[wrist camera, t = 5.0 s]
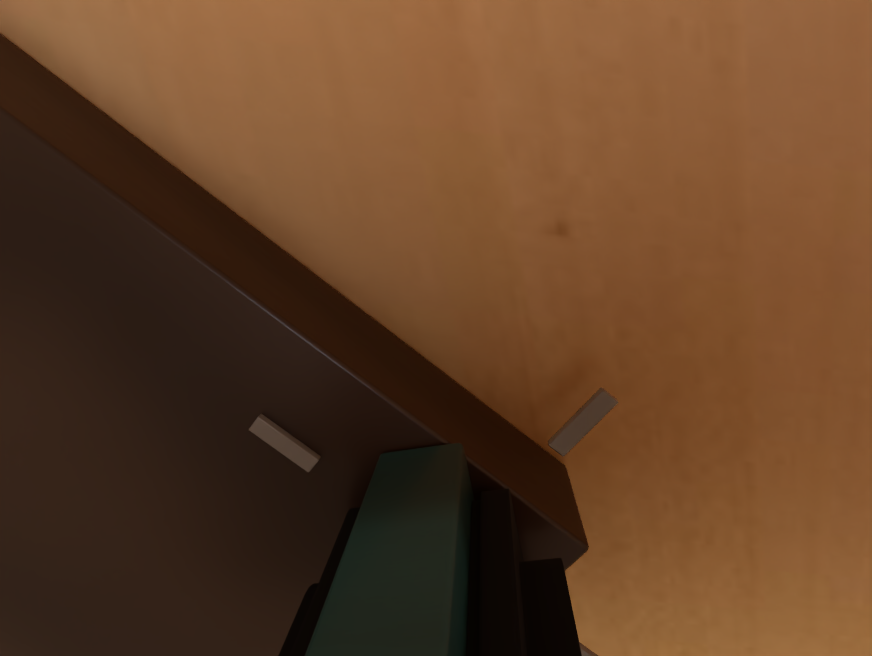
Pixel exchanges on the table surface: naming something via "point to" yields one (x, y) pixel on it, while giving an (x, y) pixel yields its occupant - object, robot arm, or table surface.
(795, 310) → the table surface
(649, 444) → the table surface
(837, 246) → the table surface
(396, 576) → the teal long angular block
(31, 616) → the holder base
